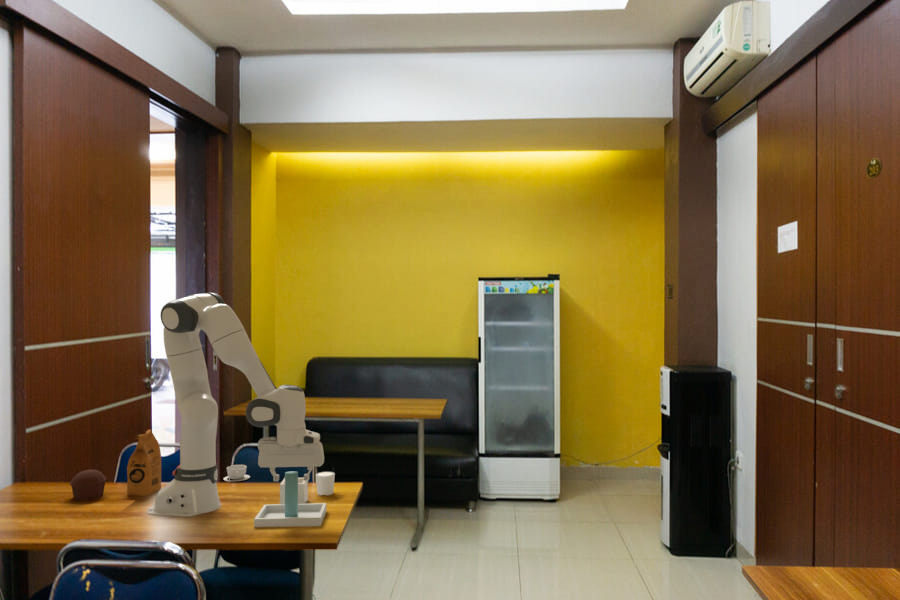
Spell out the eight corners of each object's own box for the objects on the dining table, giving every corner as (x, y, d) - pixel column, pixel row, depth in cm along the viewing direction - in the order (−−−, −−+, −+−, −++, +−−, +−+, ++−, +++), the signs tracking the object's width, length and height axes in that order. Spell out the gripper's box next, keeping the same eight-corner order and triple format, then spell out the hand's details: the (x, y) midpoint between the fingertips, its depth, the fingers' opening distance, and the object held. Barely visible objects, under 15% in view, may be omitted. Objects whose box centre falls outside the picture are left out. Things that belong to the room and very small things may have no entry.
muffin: (100, 503, 218) (100, 474, 218) (64, 506, 215) (64, 476, 215) (110, 493, 230) (110, 465, 230) (76, 495, 227) (76, 467, 227)
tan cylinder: (330, 496, 225) (330, 476, 225) (312, 495, 226) (312, 475, 226) (337, 490, 232) (337, 471, 232) (320, 489, 233) (320, 470, 233)
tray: (254, 529, 193) (254, 519, 193) (264, 513, 207) (264, 504, 207) (320, 527, 194) (320, 517, 194) (326, 512, 208) (326, 503, 208)
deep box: (279, 508, 212) (279, 484, 212) (284, 500, 220) (284, 477, 220) (304, 507, 213) (304, 484, 213) (307, 500, 221) (307, 477, 221)
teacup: (222, 477, 251) (222, 465, 251) (248, 474, 255) (248, 462, 255) (223, 483, 242) (223, 471, 242) (251, 480, 246) (251, 468, 246)
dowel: (283, 519, 199) (283, 474, 199) (286, 515, 203) (286, 471, 203) (296, 519, 199) (296, 474, 199) (298, 514, 203) (298, 471, 203)
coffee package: (121, 498, 223) (121, 436, 223) (138, 488, 236) (138, 428, 236) (150, 498, 223) (149, 436, 223) (165, 488, 236) (165, 428, 236)
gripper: (255, 439, 197) (255, 484, 197) (322, 438, 198) (322, 482, 198) (260, 435, 203) (260, 478, 203) (324, 434, 205) (324, 477, 204)
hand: (291, 480), depth 201 cm, fingers open, 8 cm apart
